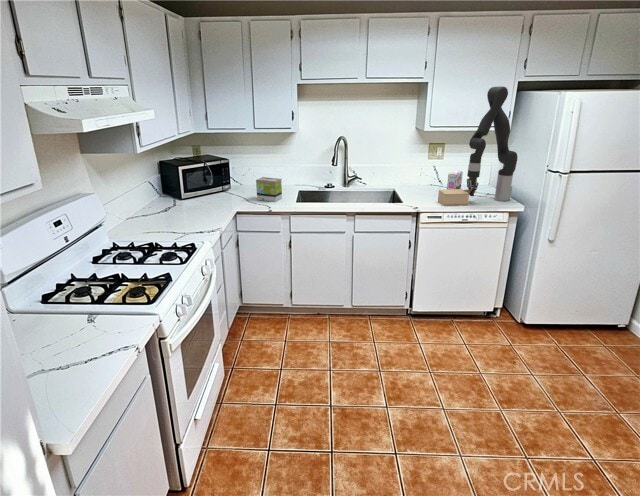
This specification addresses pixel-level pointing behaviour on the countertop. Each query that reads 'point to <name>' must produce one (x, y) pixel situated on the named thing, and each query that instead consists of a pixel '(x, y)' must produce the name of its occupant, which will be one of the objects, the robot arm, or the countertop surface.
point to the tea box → (269, 189)
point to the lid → (456, 192)
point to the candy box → (454, 180)
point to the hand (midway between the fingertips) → (470, 195)
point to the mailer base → (453, 199)
